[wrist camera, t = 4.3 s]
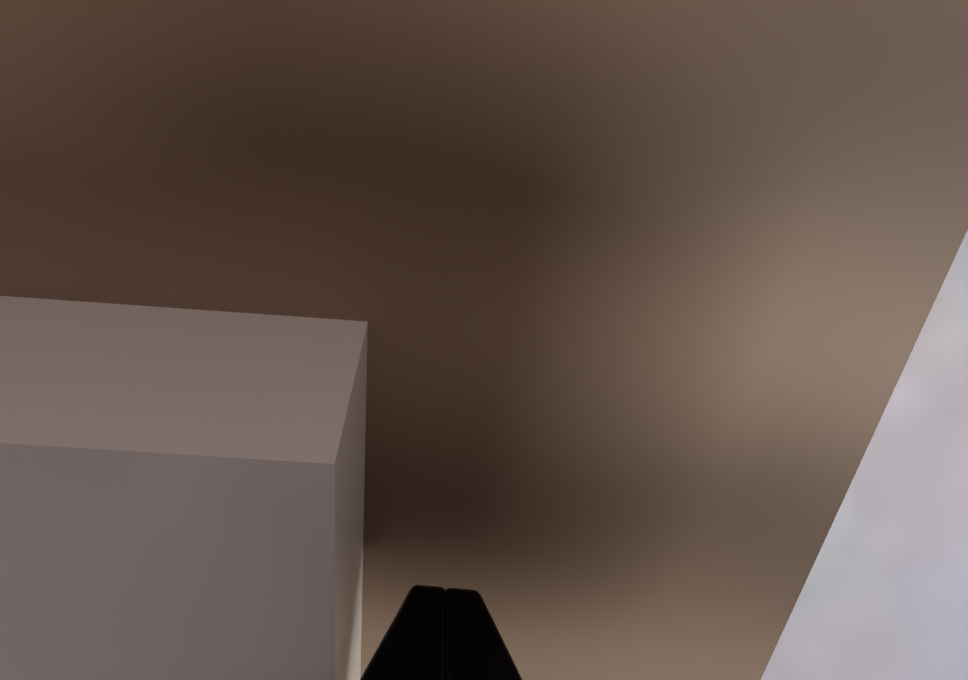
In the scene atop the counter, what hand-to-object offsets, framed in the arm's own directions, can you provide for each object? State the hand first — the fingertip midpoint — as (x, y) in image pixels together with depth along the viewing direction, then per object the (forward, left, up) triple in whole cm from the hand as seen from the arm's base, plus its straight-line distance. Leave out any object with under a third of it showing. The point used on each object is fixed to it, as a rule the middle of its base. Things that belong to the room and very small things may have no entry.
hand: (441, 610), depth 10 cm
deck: (0, +1, -5) cm, 5 cm away
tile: (0, +4, 0) cm, 4 cm away
